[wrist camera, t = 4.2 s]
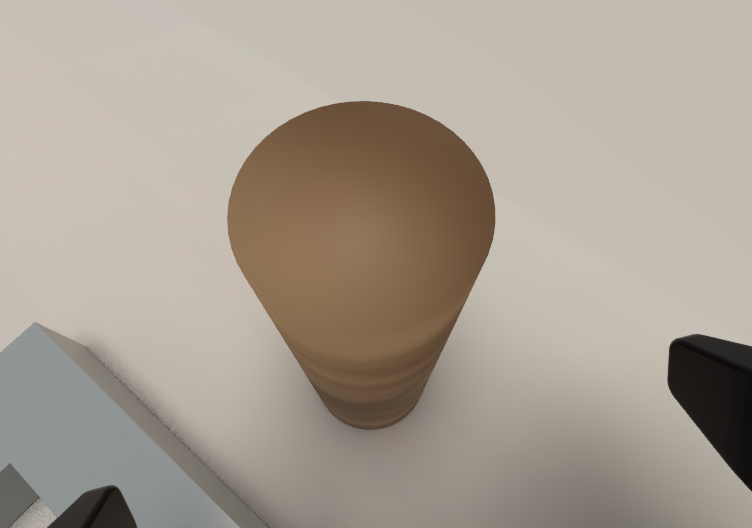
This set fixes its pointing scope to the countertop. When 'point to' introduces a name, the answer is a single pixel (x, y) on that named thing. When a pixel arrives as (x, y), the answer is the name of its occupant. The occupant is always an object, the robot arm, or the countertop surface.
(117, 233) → the countertop surface
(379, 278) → the peg
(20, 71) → the countertop surface
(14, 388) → the socket
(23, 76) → the countertop surface
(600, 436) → the countertop surface
